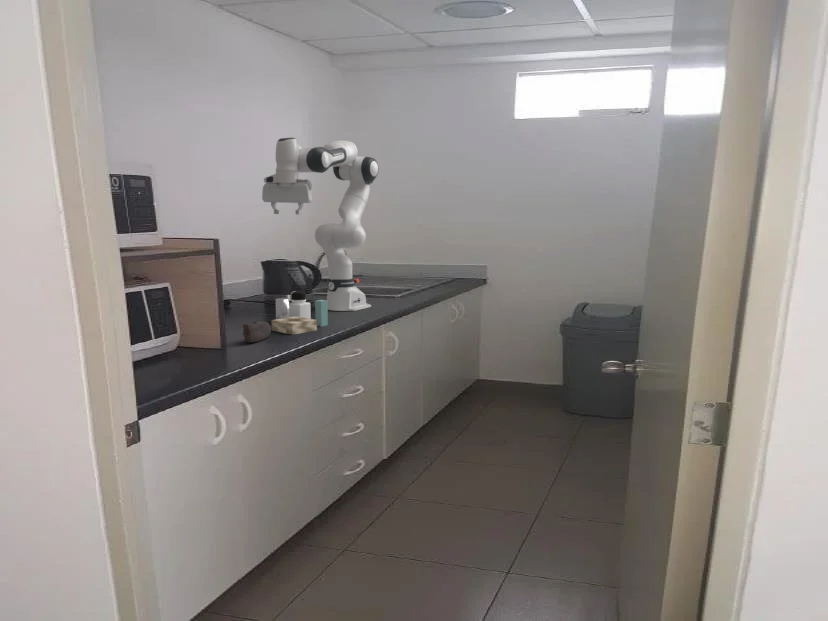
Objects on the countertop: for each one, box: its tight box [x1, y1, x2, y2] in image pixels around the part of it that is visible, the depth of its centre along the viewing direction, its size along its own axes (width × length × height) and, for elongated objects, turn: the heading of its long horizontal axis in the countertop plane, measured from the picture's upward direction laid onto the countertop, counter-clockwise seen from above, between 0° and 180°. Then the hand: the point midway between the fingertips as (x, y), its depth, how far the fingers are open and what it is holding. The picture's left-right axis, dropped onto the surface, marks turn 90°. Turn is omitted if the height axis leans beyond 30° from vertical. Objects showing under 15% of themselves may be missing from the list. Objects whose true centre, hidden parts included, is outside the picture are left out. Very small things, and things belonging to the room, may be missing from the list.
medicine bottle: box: [289, 290, 312, 319], centre depth 262 cm, size 7×7×12 cm
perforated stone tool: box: [242, 320, 272, 344], centre depth 221 cm, size 15×5×7 cm, turn 157°
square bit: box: [314, 299, 329, 327], centre depth 251 cm, size 3×3×10 cm
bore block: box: [271, 316, 318, 336], centre depth 240 cm, size 12×12×4 cm
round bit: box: [275, 297, 290, 320], centre depth 253 cm, size 5×5×10 cm
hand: (287, 214), depth 253 cm, fingers open, 8 cm apart
